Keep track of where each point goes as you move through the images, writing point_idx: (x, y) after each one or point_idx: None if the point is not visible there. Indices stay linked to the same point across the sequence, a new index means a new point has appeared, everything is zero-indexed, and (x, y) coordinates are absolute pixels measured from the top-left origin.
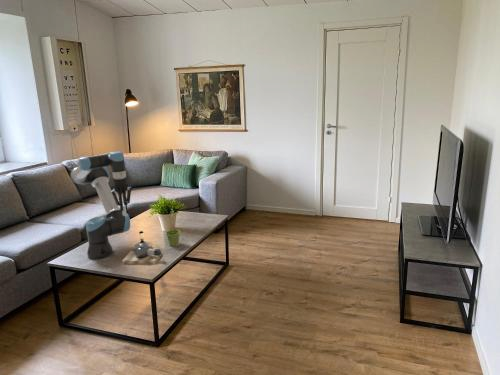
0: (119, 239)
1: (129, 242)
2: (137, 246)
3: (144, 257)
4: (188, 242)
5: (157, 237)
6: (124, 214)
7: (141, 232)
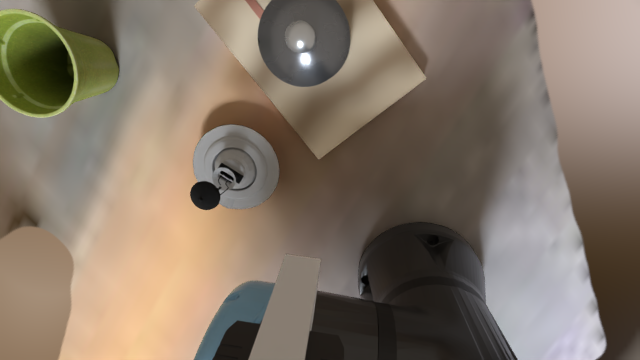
0: None
1: (254, 277)
2: (310, 80)
3: None
4: None
5: (124, 218)
6: (314, 273)
7: (206, 187)
